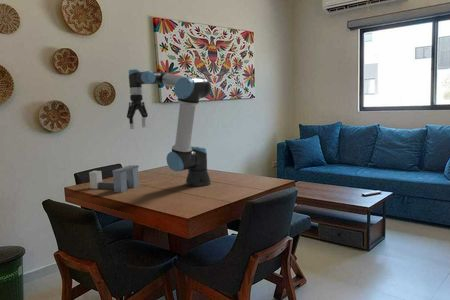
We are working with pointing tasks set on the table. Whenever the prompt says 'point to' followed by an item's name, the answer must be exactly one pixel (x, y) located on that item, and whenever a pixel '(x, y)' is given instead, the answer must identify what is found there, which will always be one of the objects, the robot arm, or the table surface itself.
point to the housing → (125, 178)
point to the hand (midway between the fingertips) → (138, 128)
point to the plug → (99, 181)
